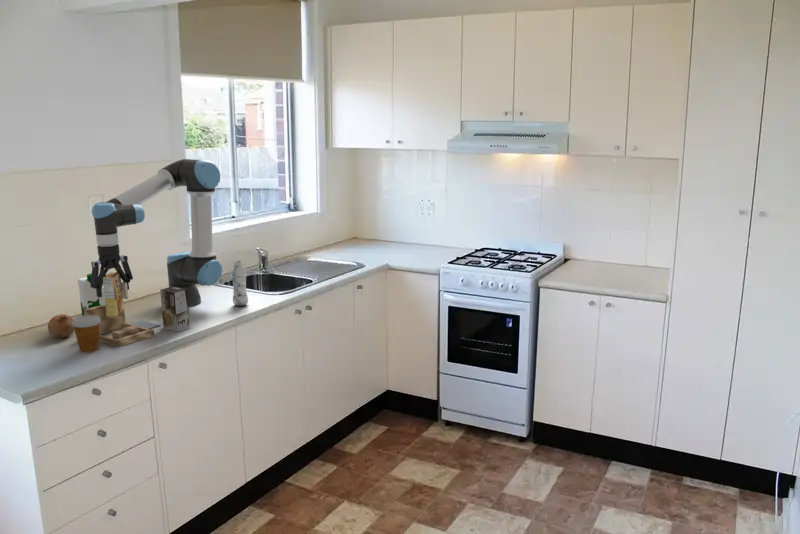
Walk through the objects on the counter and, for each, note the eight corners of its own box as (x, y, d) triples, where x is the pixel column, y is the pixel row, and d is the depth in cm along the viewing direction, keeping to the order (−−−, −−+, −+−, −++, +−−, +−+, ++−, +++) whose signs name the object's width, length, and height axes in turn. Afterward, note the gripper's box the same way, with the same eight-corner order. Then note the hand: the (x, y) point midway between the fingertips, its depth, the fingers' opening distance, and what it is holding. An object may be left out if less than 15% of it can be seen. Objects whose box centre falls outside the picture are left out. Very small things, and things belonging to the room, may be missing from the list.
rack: (124, 326, 274) (121, 300, 272) (154, 335, 264) (152, 308, 261) (87, 337, 261) (84, 309, 259) (117, 346, 251) (114, 318, 248)
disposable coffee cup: (71, 349, 248) (67, 318, 245) (97, 343, 254) (94, 312, 252) (80, 356, 241) (77, 323, 239) (107, 349, 248) (104, 318, 245)
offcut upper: (132, 331, 263) (131, 325, 263) (139, 332, 261) (138, 327, 261) (112, 337, 255) (111, 332, 255) (119, 339, 253) (118, 333, 253)
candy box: (113, 309, 267) (109, 271, 263) (124, 309, 267) (120, 271, 263) (106, 316, 258) (101, 277, 254) (117, 316, 258) (113, 277, 255)
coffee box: (190, 327, 273) (187, 289, 269) (177, 332, 268) (174, 292, 264) (176, 323, 278) (173, 285, 274) (162, 327, 273) (159, 289, 269)
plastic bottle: (249, 306, 303) (247, 262, 298) (234, 308, 300) (231, 264, 296) (247, 302, 308) (245, 259, 304) (231, 304, 306) (229, 261, 302)
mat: (142, 321, 281) (141, 319, 281) (160, 326, 275) (160, 324, 275) (124, 326, 275) (124, 324, 275) (143, 331, 268) (143, 330, 268)
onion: (69, 345, 261) (71, 326, 256) (43, 341, 258) (44, 321, 253) (77, 330, 268) (79, 310, 263) (51, 325, 266) (53, 305, 261)
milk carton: (88, 325, 276) (83, 277, 271) (79, 320, 282) (74, 273, 278) (109, 320, 282) (105, 273, 278) (100, 316, 288) (95, 270, 284)
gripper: (127, 238, 267) (133, 293, 272) (74, 248, 249) (82, 307, 255) (139, 240, 263) (144, 296, 268) (86, 250, 245) (93, 310, 251)
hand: (114, 301), depth 261 cm, fingers closed on candy box, 9 cm apart
